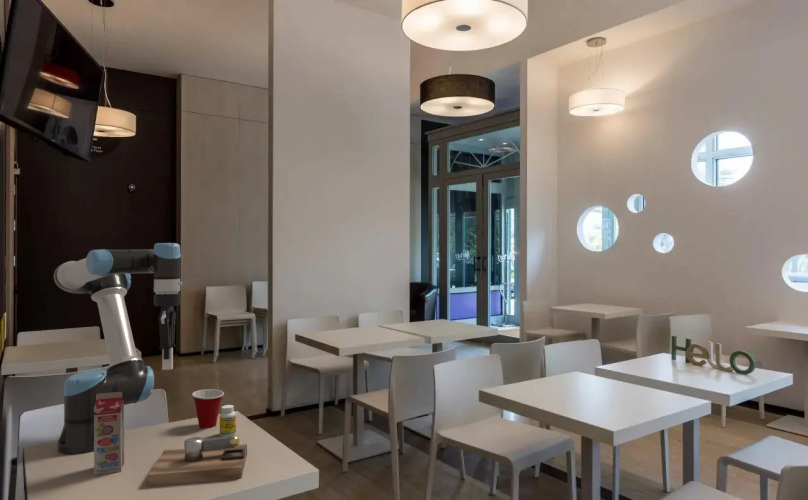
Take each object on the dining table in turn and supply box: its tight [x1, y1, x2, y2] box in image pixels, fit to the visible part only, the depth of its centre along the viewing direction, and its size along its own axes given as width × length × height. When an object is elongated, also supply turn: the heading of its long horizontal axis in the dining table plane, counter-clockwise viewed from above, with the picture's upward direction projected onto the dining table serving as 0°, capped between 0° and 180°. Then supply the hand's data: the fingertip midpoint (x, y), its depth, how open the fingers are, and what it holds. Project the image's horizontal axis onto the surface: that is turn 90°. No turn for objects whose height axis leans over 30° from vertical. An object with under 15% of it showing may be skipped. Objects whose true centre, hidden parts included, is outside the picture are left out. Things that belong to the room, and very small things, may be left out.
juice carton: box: [93, 392, 125, 476], centre depth 153 cm, size 7×7×22 cm
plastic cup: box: [192, 389, 225, 429], centre depth 191 cm, size 11×11×12 cm
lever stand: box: [147, 443, 248, 487], centre depth 153 cm, size 18×24×4 cm
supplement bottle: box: [219, 404, 237, 437], centre depth 182 cm, size 5×5×10 cm
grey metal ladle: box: [183, 435, 241, 461], centre depth 155 cm, size 15×5×5 cm, turn 112°
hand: (167, 369), depth 164 cm, fingers closed
